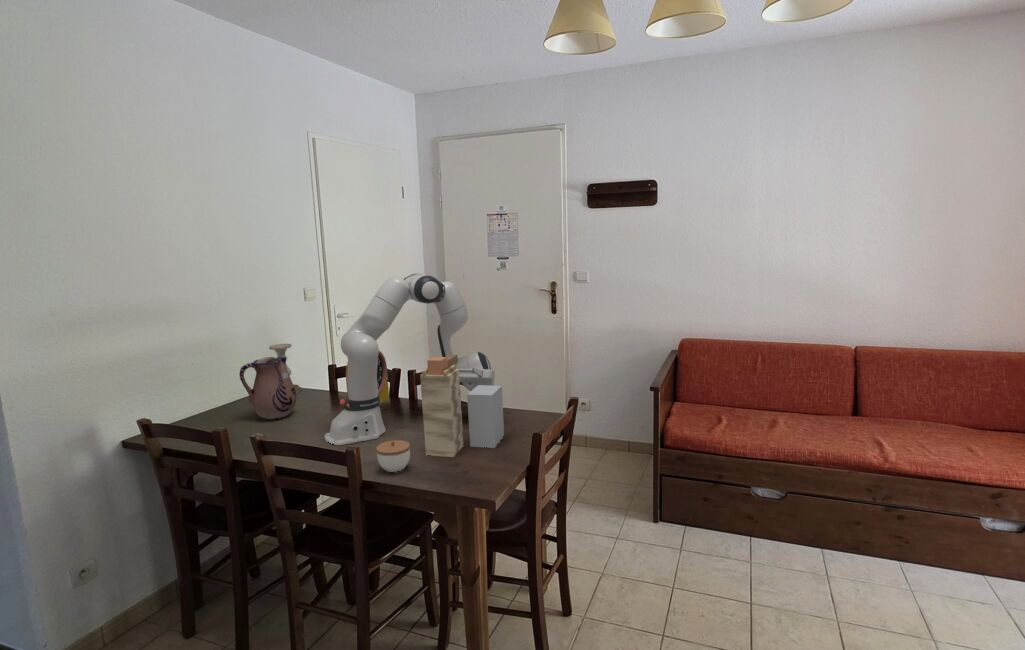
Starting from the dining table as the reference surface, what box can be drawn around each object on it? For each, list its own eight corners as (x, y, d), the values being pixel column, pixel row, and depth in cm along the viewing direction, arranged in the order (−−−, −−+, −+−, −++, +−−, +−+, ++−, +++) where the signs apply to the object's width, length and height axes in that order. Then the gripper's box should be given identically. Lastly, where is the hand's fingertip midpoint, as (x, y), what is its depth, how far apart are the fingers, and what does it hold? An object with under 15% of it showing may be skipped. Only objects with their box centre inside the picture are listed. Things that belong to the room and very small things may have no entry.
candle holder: (301, 390, 293) (296, 343, 289) (289, 397, 282) (284, 348, 279) (281, 390, 295) (276, 343, 291) (268, 396, 285) (263, 348, 281)
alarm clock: (367, 412, 253) (361, 351, 249) (348, 411, 256) (342, 351, 251) (390, 398, 273) (385, 342, 269) (372, 397, 276) (367, 341, 271)
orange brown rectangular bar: (447, 362, 214) (446, 349, 213) (460, 363, 213) (459, 349, 212) (428, 374, 198) (427, 360, 197) (442, 375, 196) (441, 360, 195)
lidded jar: (380, 463, 197) (378, 436, 195) (412, 461, 198) (410, 434, 196) (375, 477, 186) (373, 448, 185) (410, 474, 187) (408, 446, 185)
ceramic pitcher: (306, 414, 254) (300, 357, 250) (258, 428, 238) (251, 367, 234) (284, 407, 265) (278, 353, 261) (238, 420, 249) (230, 362, 245)
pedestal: (480, 434, 220) (478, 385, 216) (504, 436, 217) (501, 385, 214) (470, 446, 208) (467, 394, 205) (494, 448, 206) (492, 395, 203)
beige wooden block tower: (437, 444, 211) (431, 364, 207) (463, 446, 209) (458, 364, 204) (425, 455, 202) (419, 371, 197) (453, 457, 199) (448, 371, 194)
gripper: (449, 371, 238) (437, 361, 225) (498, 372, 232) (488, 362, 220) (447, 386, 236) (434, 377, 223) (496, 388, 230) (486, 378, 218)
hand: (461, 369), depth 222 cm, fingers open, 8 cm apart
